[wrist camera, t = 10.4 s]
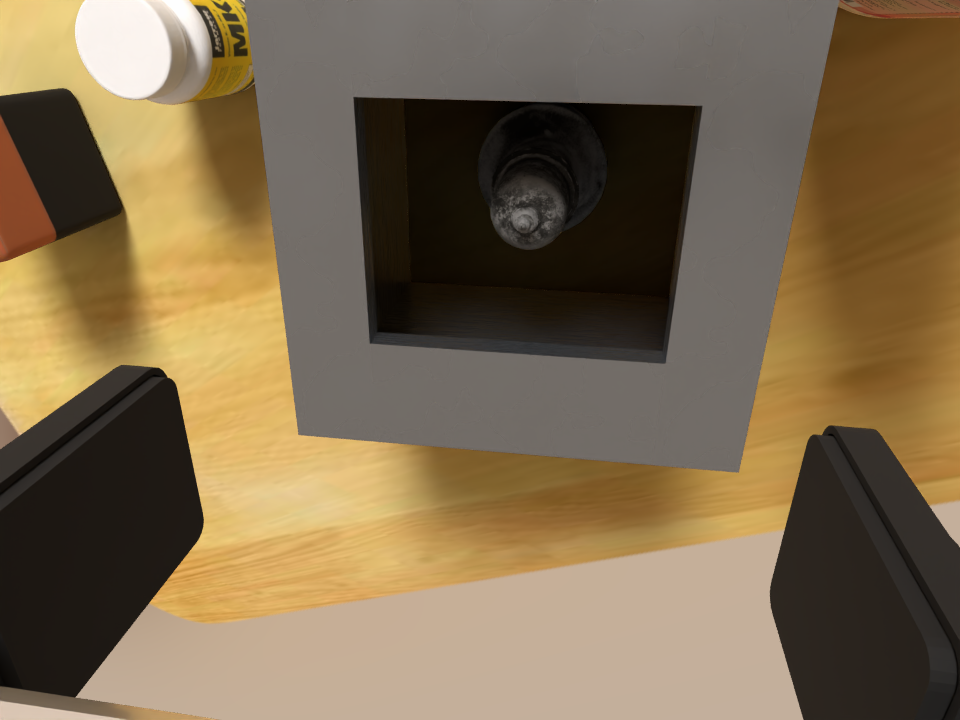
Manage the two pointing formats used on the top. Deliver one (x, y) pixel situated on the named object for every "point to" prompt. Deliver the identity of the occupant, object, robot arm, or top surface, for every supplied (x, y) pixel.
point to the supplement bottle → (166, 48)
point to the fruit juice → (903, 8)
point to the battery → (48, 172)
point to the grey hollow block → (518, 311)
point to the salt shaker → (541, 172)
